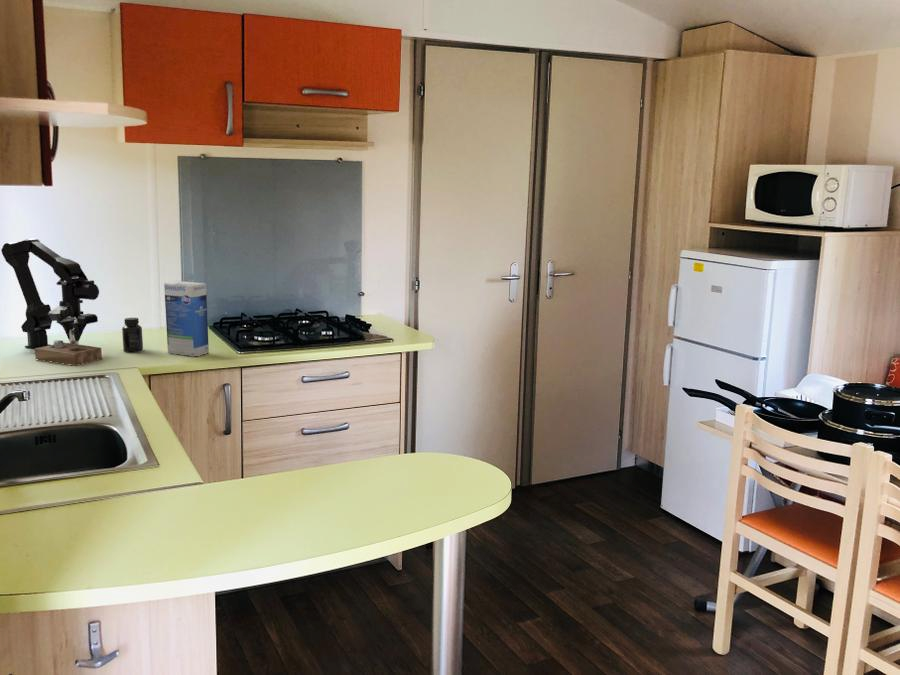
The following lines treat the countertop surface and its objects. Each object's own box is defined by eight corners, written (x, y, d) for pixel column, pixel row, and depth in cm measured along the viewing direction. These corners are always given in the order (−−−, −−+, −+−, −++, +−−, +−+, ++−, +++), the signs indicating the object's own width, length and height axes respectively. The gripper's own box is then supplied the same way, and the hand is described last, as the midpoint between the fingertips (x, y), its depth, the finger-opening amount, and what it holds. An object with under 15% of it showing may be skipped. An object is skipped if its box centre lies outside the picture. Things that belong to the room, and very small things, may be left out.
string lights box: (209, 353, 314) (207, 283, 308) (196, 357, 307) (193, 285, 302) (180, 349, 319) (177, 280, 313) (166, 353, 312) (163, 282, 306)
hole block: (74, 365, 291) (73, 354, 290) (35, 359, 298) (34, 348, 297) (101, 358, 302) (101, 347, 301) (63, 353, 308) (62, 342, 308)
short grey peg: (52, 358, 301) (51, 341, 299) (59, 356, 303) (58, 340, 302) (59, 359, 299) (58, 342, 298) (66, 357, 302) (64, 340, 301)
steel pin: (68, 351, 311) (66, 330, 309) (74, 350, 314) (73, 328, 312) (74, 352, 310) (73, 330, 308) (81, 351, 312) (79, 329, 311)
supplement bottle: (146, 349, 318) (144, 317, 316) (138, 353, 311) (136, 320, 309) (128, 348, 319) (126, 316, 316) (119, 352, 312) (118, 319, 310)
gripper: (33, 298, 304) (36, 342, 307) (72, 303, 297) (75, 347, 300) (58, 294, 314) (61, 336, 317) (97, 298, 307) (100, 341, 310)
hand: (73, 340), depth 311 cm, fingers closed on steel pin, 3 cm apart
